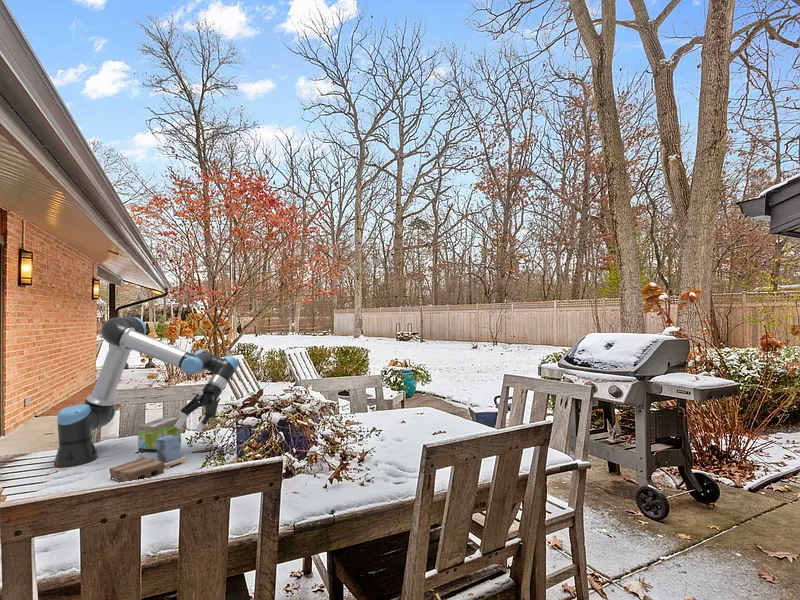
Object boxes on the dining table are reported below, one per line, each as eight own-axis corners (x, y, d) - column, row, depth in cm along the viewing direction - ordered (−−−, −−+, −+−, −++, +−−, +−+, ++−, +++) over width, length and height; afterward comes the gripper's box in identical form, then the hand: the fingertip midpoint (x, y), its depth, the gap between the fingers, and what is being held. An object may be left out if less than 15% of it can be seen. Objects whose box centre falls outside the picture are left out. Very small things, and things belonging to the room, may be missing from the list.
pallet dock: (110, 479, 176) (109, 468, 176) (143, 467, 187) (143, 457, 187) (130, 484, 169) (130, 473, 169) (164, 472, 180) (163, 462, 180)
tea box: (158, 461, 195) (156, 425, 195) (138, 460, 197) (136, 426, 197) (182, 449, 209) (180, 416, 209) (162, 449, 211) (161, 416, 211)
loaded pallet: (152, 466, 188) (150, 439, 188) (172, 459, 195) (171, 433, 195) (165, 469, 183) (164, 442, 183) (186, 462, 191) (184, 435, 191)
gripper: (238, 393, 205) (212, 436, 192) (202, 390, 218) (174, 431, 205) (228, 383, 200) (200, 427, 187) (191, 381, 213) (162, 422, 200)
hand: (186, 429), depth 196 cm, fingers open, 13 cm apart
